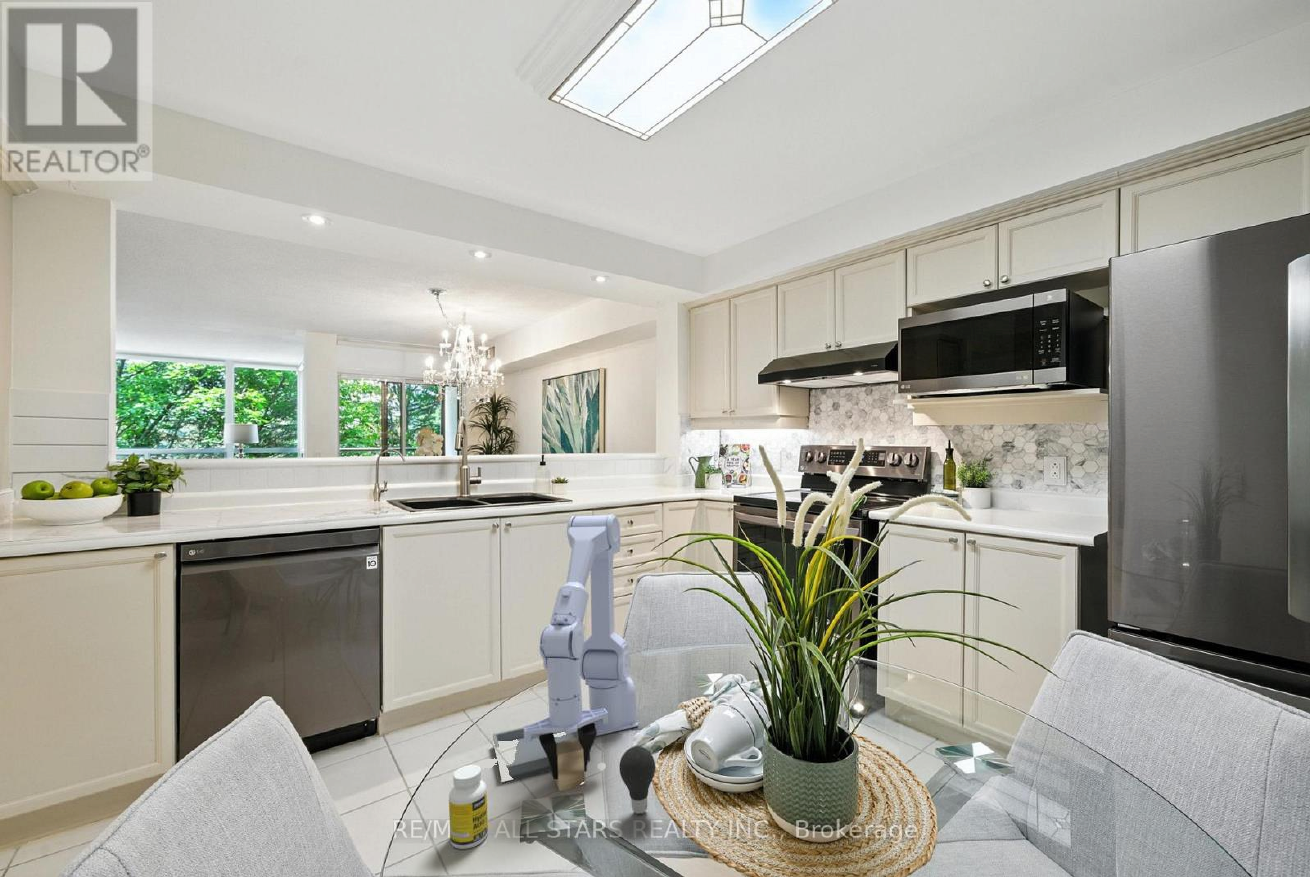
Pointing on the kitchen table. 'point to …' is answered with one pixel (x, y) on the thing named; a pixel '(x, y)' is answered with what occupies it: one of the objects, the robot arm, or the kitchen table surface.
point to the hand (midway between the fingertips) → (569, 772)
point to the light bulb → (637, 775)
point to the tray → (528, 753)
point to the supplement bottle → (468, 808)
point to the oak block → (570, 764)
